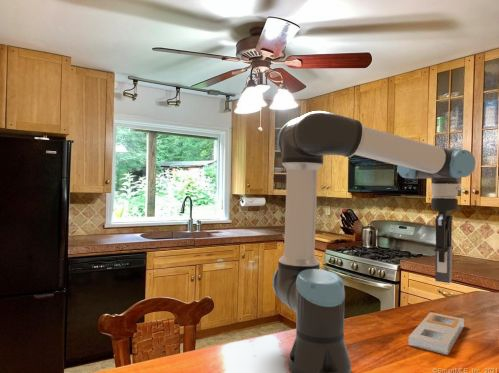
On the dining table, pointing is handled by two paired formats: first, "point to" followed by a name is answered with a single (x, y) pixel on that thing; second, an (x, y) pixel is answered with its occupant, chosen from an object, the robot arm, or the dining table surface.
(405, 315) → the dining table surface
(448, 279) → the steel peg
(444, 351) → the grey peg hole board
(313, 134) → the robot arm
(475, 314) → the dining table surface
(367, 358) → the dining table surface
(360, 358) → the dining table surface
